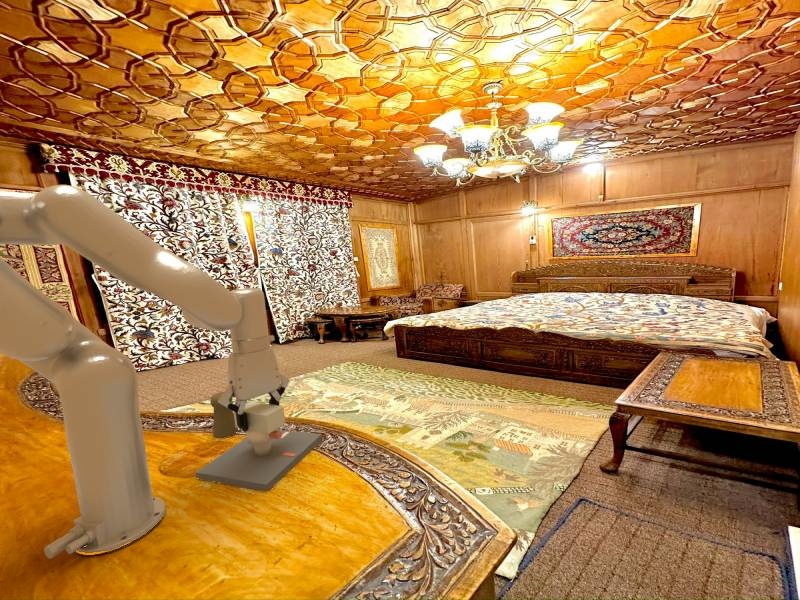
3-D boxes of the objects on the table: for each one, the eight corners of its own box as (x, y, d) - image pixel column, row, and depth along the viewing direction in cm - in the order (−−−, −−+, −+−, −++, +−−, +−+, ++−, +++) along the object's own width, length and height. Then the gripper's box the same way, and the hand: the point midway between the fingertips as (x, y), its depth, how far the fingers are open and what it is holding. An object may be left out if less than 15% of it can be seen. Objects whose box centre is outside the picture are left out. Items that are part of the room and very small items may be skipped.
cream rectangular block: (235, 440, 80) (231, 411, 79) (256, 428, 85) (252, 400, 84) (270, 448, 75) (266, 417, 74) (290, 435, 80) (286, 405, 80)
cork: (219, 441, 90) (214, 399, 89) (208, 435, 94) (203, 395, 93) (242, 431, 95) (237, 391, 94) (231, 425, 98) (226, 387, 97)
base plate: (267, 491, 68) (264, 469, 68) (196, 479, 74) (193, 458, 74) (322, 440, 87) (320, 422, 87) (261, 433, 93) (259, 416, 92)
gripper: (279, 335, 86) (286, 406, 88) (202, 351, 74) (212, 433, 76) (295, 338, 81) (303, 413, 83) (215, 356, 69) (226, 444, 71)
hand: (259, 422), depth 80 cm, fingers open, 6 cm apart
